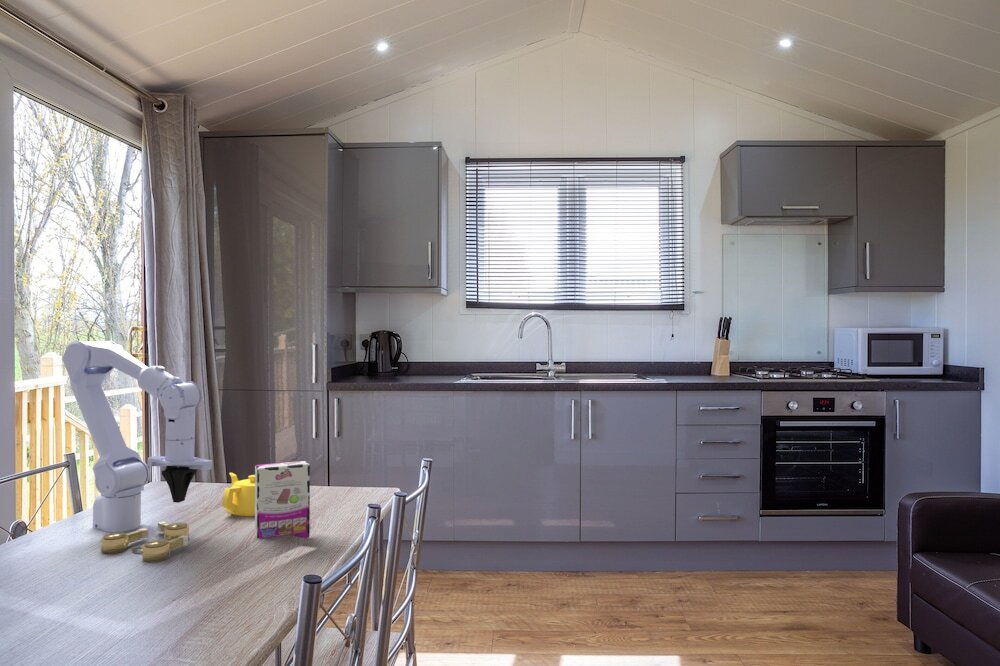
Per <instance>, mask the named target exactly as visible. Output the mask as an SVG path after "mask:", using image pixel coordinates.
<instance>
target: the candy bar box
mask: <svg viewBox="0 0 1000 666" xmlns="http://www.w3.org/2000/svg"><path fill="white" fill-rule="evenodd" d="M310 466H311V464H310V463H309V462H308V461H307V460H300V461H299V460H298V461H286V462H278V463H277V462H276V463H264V464H263V463H262V464H255V466H254V475H255V516H254V533H255V536H256V538H257V539H261V538H269V537H270V538H271V537H278V536H285V535H287V536H288V535H292V537H297V538H304V539H308V538H310V532H311V531H310V530H311V529H310V528H311V527H310V525H311V524H310V523H311V522H310V521H311V519H310V518H311V517H310V516H311V513H310V511H311V509H310V508H311V504H310V499H311V498H310V497H311V495H310V494H311V490H310V489H311V488H310V487H311V482H310V481H311V479H310V476H311V472H310V471H311V467H310Z"/></svg>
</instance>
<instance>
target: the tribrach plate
mask: <svg viewBox="0 0 1000 666" xmlns="http://www.w3.org/2000/svg"><path fill="white" fill-rule="evenodd" d="M143 545H144V543H142V544H139V545H136V546H134V547H133V548H132V550H131V551H132V553H133V554H135V555H142V549H143Z"/></svg>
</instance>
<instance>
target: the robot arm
mask: <svg viewBox="0 0 1000 666" xmlns="http://www.w3.org/2000/svg"><path fill="white" fill-rule="evenodd" d="M61 360H62V362H63V364H64V367H65V370H66V372H67V374H68V377H69V382H70V383H69V384H70V387H71V391H72V392H73V394H74V399H76V402H77V404H78V407H79V409H80V413H81V414H82V417H83V419H84V420H83V421H84V422H85V425H86V427H87V429H88V432H89V433H90V437H91V439H92V441H93V444H94V446H95V448H96V451H97V454H98V455H99V458H98V460H96V462H95V464H94V465H93V467H92V471H93V473H94V474H93V475H94V485H95V487H96V490H97V491H98V493H99V494H98V495H97V497H96V498H95V500H94V501H93V505H92V528H93V529H96V530H102V531H104V532H107V533H108V532H109V533H113V532H127V531H132V530H135V529H138V528H140V527H141V524H142V520H141V519H142V492H143V491H144V489H145V487H144V486H145V485H147V484H148V482H150V481H149V480H150V478H151V472H150V468H149V467H151V468H152V467H161V468H162V467H163V468H165V469H164V470H162V471H161V475H162V476H163V478H164V480H165V481H166V483H167V485H168V488H169V491H170V494H171V498H172V502H173V503H176V504H177V503H181V502H184V501H185V500H186V496H187V493H188V489H189V488H190V484H191V481H192V480H193V478H194V476H195V475H196V473H197V471H198V470H202V471H204V472H206V471H209V470H212V469H213V459H205V458H200V457H195V448H196V447H195V446H196V445H195V442H196V441H195V440H196V408H197V407H198V406H199V405H200V404H201V401H202V397H203V396H202V395H203V393H202V389H201V388H200V386H198V384H197V383H196V382H194V381H186V382H184V381H182V378H181V377H179V376H175V375H173V374H171V373H170V372H168V371H166V368H165V367H164V366H162V365H151V366H147V365H145V363H143V362H141V361H140V360H138V359H137V358H136V357H134V356H133V355H132V354H130V353H129V352H127V351H126V350H124V347H123V345H120V344H117V343H116V342H115V341H114V340H104V341H103V340H99V341H98V340H97V341H96V340H90V341H86V340H83V341H81V340H73V341H70V343H69V344H68V345H67V346H66V348H65V351H64V353H63V356H62V358H61ZM114 369H116V370H118V371H119V372H122V373H123V374H125V375H128V376H129V377H131V378H133V379H135V380H136V381H137V385H138V387H139V388H140V389H141V390H143V391H145V392H146V393H147V394H150V395H151V396H153V397H154V398H156V399H157V400H159V402H160V403H159V404H160V406H161V407H162V409H163V416H164V418H165V445H164V446H165V448H164V455H165V456H164V455H163V456H160V455H159V456H158V455H157V456H156V455H154V456H149V457H147V463H146V462H145V461H144V460H143V459H142V457H141V455H140V454H139V452H138V451H136V450H134V449H132V448H130V447H128V446H127V444H126V442H125V439H124V437H123V435H122V432H121V430H120V428H119V425H118V422H117V420H116V418H115V415H114V413H113V411H112V408H111V406H110V404H109V401H108V399H107V396H106V394H105V392H104V389H103V387H102V383H103V382H104V380H106V379H107V378H108V377H109V376H110V374H111V373H112V371H113V370H114Z"/></svg>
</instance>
